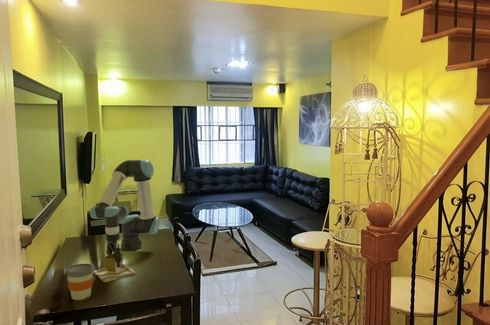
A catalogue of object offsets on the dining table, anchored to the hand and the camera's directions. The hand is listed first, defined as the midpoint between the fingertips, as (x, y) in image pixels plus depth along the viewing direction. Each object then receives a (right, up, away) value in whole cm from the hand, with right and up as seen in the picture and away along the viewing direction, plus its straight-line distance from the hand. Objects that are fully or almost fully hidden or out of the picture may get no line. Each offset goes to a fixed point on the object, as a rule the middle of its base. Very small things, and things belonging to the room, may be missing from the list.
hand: (114, 269), depth 225 cm
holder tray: (0, -3, 0) cm, 3 cm away
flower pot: (0, -1, 0) cm, 1 cm away
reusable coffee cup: (-7, -5, -30) cm, 31 cm away
